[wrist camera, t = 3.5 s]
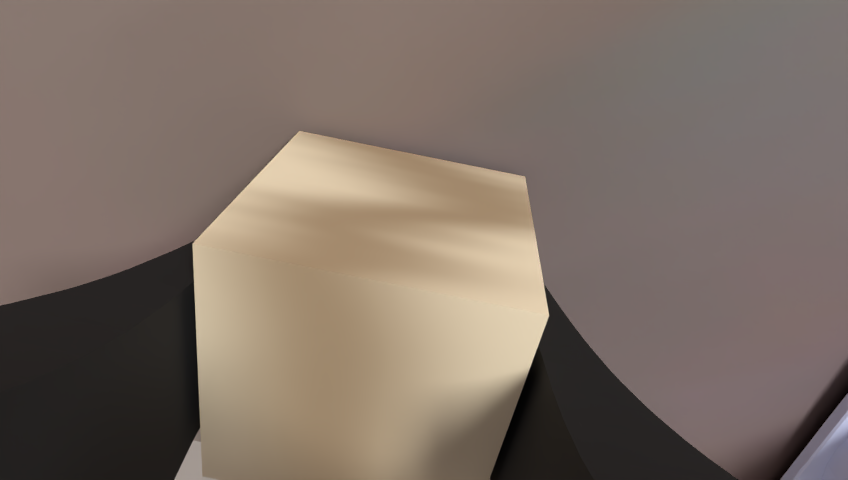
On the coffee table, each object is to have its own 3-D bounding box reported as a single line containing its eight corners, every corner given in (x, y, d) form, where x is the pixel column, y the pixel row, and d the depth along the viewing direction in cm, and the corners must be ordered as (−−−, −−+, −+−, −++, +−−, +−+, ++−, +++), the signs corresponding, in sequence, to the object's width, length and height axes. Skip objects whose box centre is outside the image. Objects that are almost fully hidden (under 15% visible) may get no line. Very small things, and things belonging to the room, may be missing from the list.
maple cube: (524, 176, 12) (548, 315, 8) (474, 349, 14) (471, 529, 10) (299, 130, 12) (192, 243, 7) (287, 312, 14) (202, 476, 10)
